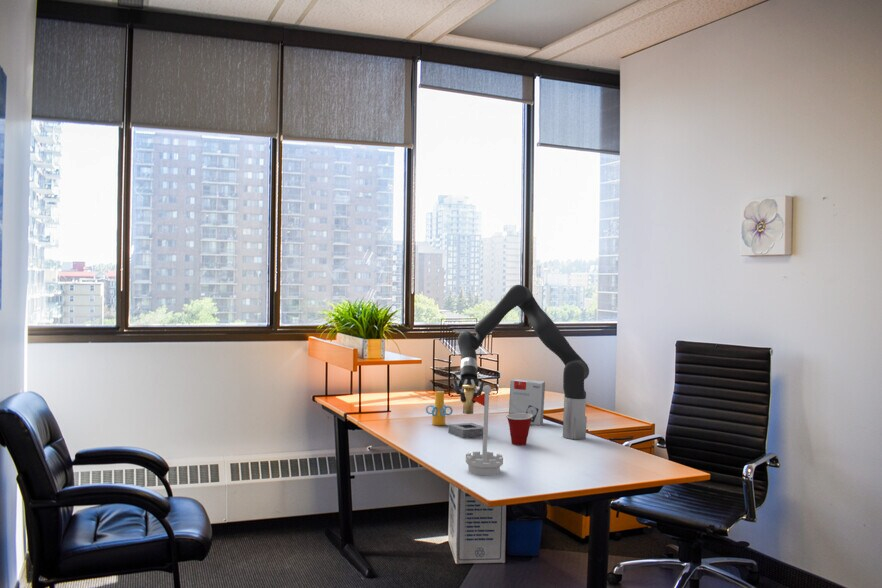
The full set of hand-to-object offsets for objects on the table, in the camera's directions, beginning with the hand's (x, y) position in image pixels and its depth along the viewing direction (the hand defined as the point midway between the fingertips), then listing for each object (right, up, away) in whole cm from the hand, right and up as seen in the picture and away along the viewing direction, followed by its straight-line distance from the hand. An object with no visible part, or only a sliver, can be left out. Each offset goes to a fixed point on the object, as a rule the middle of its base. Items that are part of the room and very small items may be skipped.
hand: (468, 401), depth 314 cm
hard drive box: (+28, -15, +34) cm, 47 cm away
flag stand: (+3, -16, -57) cm, 60 cm away
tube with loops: (-13, -14, +21) cm, 29 cm away
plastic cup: (+20, -16, -13) cm, 28 cm away
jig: (-1, -14, +2) cm, 15 cm away
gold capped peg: (0, -5, +2) cm, 6 cm away
